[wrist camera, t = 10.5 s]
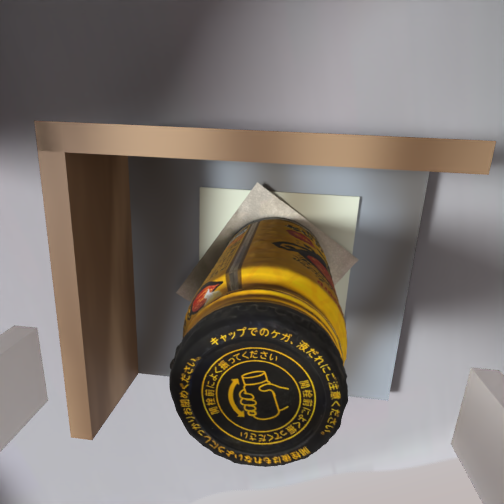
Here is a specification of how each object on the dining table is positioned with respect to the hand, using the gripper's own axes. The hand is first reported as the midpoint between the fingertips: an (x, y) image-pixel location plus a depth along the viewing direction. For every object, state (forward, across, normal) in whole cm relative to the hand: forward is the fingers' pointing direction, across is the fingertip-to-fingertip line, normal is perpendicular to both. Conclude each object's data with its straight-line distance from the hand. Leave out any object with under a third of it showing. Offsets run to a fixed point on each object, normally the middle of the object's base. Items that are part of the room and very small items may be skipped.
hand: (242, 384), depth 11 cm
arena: (+12, 0, -1) cm, 12 cm away
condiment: (+11, 0, -1) cm, 11 cm away
